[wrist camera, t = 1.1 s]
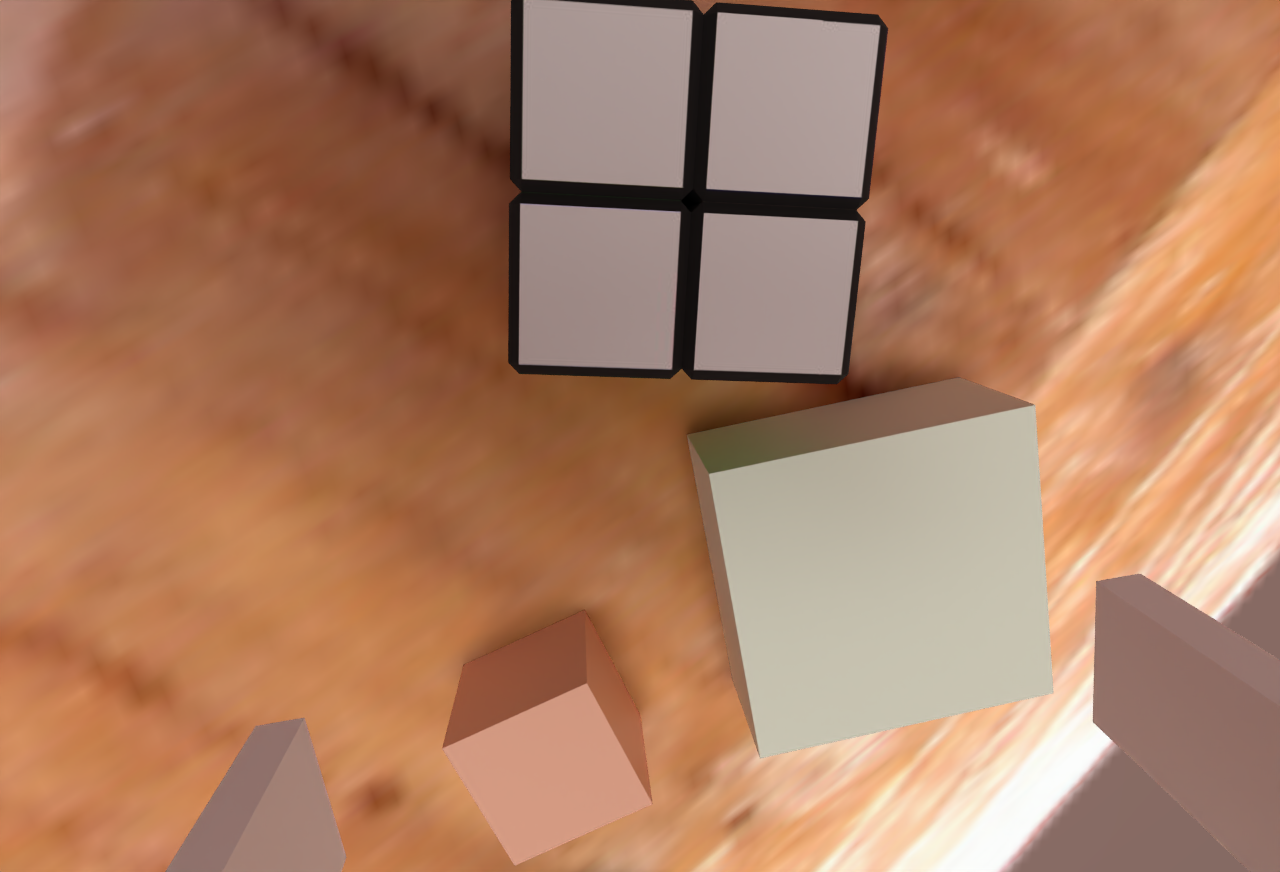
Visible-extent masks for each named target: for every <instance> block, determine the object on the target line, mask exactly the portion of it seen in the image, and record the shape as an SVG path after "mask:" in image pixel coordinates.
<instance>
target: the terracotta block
mask: <svg viewBox="0 0 1280 872" xmlns="http://www.w3.org/2000/svg"><path fill="white" fill-rule="evenodd" d="M442 749H443V751H444V752H445V754H446V756H447V757H448V759H449V761H450V762H451V764H452V765H453V767H454V769H455V770H456V772H457V773H458V775H459V777H460V778H461V780H462V781H463V783H464V785H465V786H466V788H467V790H468V791H469V793H470V794H471V796H472V798H473V799H474V801H475V802H476V804H477V806H478V807H479V809H480V810H481V812H482V814H483V815H484V817H485V819H486V820H487V822H488V823H489V825H490V827H491V828H492V830H493V831H494V833H495V835H496V836H497V838H498V840H499V841H500V843H501V844H502V846H503V848H504V849H505V851H506V852H507V854H508V856H509V857H510V859H511V860H512V862H513V864H514V865H517V864H519V863H522V862H524V861H526V860H528V859H531V858H533V857H535V856H537V855H540V854H542V853H544V852H546V851H549V850H551V849H553V848H555V847H558V846H560V845H562V844H564V843H567V842H569V841H571V840H573V839H576V838H578V837H580V836H582V835H585V834H587V833H589V832H591V831H593V830H596V829H598V828H600V827H602V826H605V825H607V824H609V823H611V822H614V821H616V820H618V819H620V818H623V817H625V816H627V815H629V814H632V813H634V812H636V811H638V810H641V809H643V808H645V807H647V806H650V805H652V796H651V789H650V782H649V775H648V767H647V760H646V753H645V746H644V739H643V731H642V724H641V717H640V714H639V712H638V710H637V708H636V706H635V704H634V702H633V700H632V698H631V696H630V695H629V693H628V691H627V689H626V687H625V685H624V683H623V681H622V679H621V677H620V676H619V674H618V672H617V670H616V668H615V666H614V664H613V662H612V660H611V658H610V657H609V655H608V653H607V651H606V649H605V647H604V645H603V643H602V641H601V639H600V638H599V636H598V634H597V632H596V630H595V628H594V626H593V624H592V622H591V620H590V619H589V617H588V615H587V613H586V611H585V610H583V611H581V612H579V613H577V614H574V615H572V616H570V617H568V618H566V619H563V620H561V621H559V622H557V623H555V624H552V625H550V626H548V627H546V628H544V629H541V630H539V631H537V632H535V633H533V634H530V635H528V636H526V637H524V638H522V639H519V640H517V641H515V642H513V643H511V644H508V645H506V646H504V647H502V648H500V649H497V650H495V651H493V652H491V653H489V654H486V655H484V656H482V657H480V658H478V659H475V660H473V661H471V662H469V663H467V664H464V666H463V670H462V674H461V677H460V681H459V685H458V689H457V693H456V697H455V701H454V705H453V709H452V712H451V716H450V720H449V724H448V728H447V732H446V736H445V740H444V743H443V747H442Z"/></svg>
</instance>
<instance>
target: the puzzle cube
mask: <svg viewBox="0 0 1280 872" xmlns="http://www.w3.org/2000/svg"><path fill="white" fill-rule="evenodd" d="M887 34H888V28H887V26H886V25H885V24H884V22H883V21H882V20H881V18H880V17H879V15H875V14H862V13H849V12H835V11H822V10H809V9H796V8H783V7H770V6H757V5H744V4H731V3H717V2H716V3H715V4H714V5H713V6H712V7H711V8H710V9H709V10H708V11H707V12H706V13H705V14H704V15H703V13H702V12H701V11H700V10H699V8H698V7H697V6H696V4H695V3H694V2H693V1H691V0H511V106H510V179H511V181H512V182H513V183H514V184H515V185H516V186H517V187H518V188H519V189H520V190H521V193H519V194H518V195H517V196H516V197H515V198H514V199H513V200H512V201H511V202H510V203H509V340H508V363H509V364H510V365H511V366H512V367H513V368H514V369H515V370H516V371H517V372H518V373H519V374H540V375H570V376H600V377H630V378H660V379H671V378H672V377H673V376H674V375H675V374H676V373H677V372H678V371H679V370H680V369H683V370H684V372H685V373H686V374H687V375H688V376H689V377H690V378H691V379H695V380H725V381H755V382H785V383H815V384H838V383H839V382H840V381H841V380H842V379H843V378H844V377H845V376H847V375H848V372H849V363H850V354H851V346H852V337H853V328H854V319H855V310H856V301H857V292H858V283H859V275H860V266H861V257H862V248H863V239H864V230H865V221H864V219H863V218H862V217H861V216H860V214H859V213H858V212H857V209H858V208H859V207H860V206H861V205H862V204H863V203H864V202H866V201H867V200H868V199H869V193H870V184H871V176H872V167H873V158H874V149H875V140H876V131H877V122H878V114H879V105H880V96H881V87H882V78H883V69H884V61H885V52H886V43H887Z"/></svg>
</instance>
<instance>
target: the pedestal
mask: <svg viewBox="0 0 1280 872" xmlns="http://www.w3.org/2000/svg"><path fill="white" fill-rule="evenodd" d="M687 438H688V444H689V449H690V455H691V460H692V465H693V471H694V476H695V481H696V487H697V492H698V498H699V503H700V508H701V514H702V519H703V525H704V530H705V535H706V541H707V546H708V551H709V557H710V562H711V568H712V573H713V578H714V584H715V589H716V595H717V600H718V605H719V611H720V616H721V621H722V627H723V632H724V638H725V643H726V648H727V654H728V659H729V664H730V670H731V675H732V680H733V683H734V686H735V688H736V691H737V694H738V697H739V700H740V703H741V705H742V708H743V711H744V714H745V717H746V720H747V722H748V725H749V728H750V731H751V734H752V736H753V739H754V742H755V745H756V748H757V751H758V753H759V756H760V758H764V757H769V756H773V755H778V754H782V753H787V752H791V751H796V750H800V749H805V748H809V747H814V746H818V745H823V744H827V743H832V742H836V741H841V740H845V739H850V738H854V737H859V736H863V735H868V734H872V733H877V732H881V731H886V730H890V729H895V728H899V727H904V726H908V725H913V724H917V723H922V722H926V721H931V720H935V719H940V718H944V717H949V716H953V715H958V714H962V713H967V712H971V711H976V710H980V709H984V708H989V707H993V706H998V705H1002V704H1007V703H1011V702H1016V701H1020V700H1025V699H1029V698H1034V697H1038V696H1043V695H1047V694H1052V693H1053V678H1052V662H1051V647H1050V631H1049V615H1048V599H1047V583H1046V568H1045V552H1044V536H1043V520H1042V504H1041V488H1040V473H1039V457H1038V441H1037V425H1036V409H1035V405H1034V404H1031V403H1028V402H1026V401H1023V400H1020V399H1018V398H1015V397H1012V396H1009V395H1007V394H1004V393H1001V392H998V391H996V390H993V389H990V388H987V387H985V386H982V385H979V384H977V383H974V382H971V381H968V380H966V379H963V378H960V377H958V378H953V379H948V380H943V381H939V382H934V383H929V384H924V385H920V386H915V387H910V388H905V389H901V390H896V391H891V392H886V393H882V394H877V395H872V396H867V397H863V398H858V399H853V400H848V401H844V402H839V403H834V404H829V405H825V406H820V407H815V408H810V409H806V410H801V411H796V412H791V413H787V414H782V415H777V416H772V417H768V418H763V419H758V420H753V421H749V422H744V423H739V424H734V425H730V426H725V427H720V428H715V429H711V430H706V431H701V432H696V433H692V434H687Z"/></svg>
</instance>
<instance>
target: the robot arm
mask: <svg viewBox="0 0 1280 872" xmlns="http://www.w3.org/2000/svg"><path fill="white" fill-rule="evenodd" d="M1093 723H1095V724H1096V725H1097V726H1098V727H1099V728H1100V729H1101V730H1102V731H1103V732H1104V733H1105V734H1106V735H1107V736H1108V737H1109V738H1110V739H1111V740H1112V741H1113V742H1114V743H1115V744H1117V745H1118V746H1119V747H1120V748H1121V749H1122V750H1123V751H1124V752H1125V753H1126V754H1127V755H1128V756H1129V757H1130V758H1131V759H1132V760H1133V761H1134V762H1136V764H1137V765H1138V766H1140V767H1141V768H1142V769H1143V770H1144V771H1145V772H1146V773H1147V774H1148V775H1149V776H1150V777H1151V778H1152V779H1153V780H1154V781H1155V782H1156V783H1157V784H1158V785H1159V786H1160V787H1162V788H1163V789H1164V790H1165V791H1166V792H1167V793H1168V794H1169V795H1170V796H1171V797H1172V798H1173V799H1174V800H1175V801H1176V802H1177V803H1178V804H1179V805H1180V806H1182V807H1183V808H1184V809H1185V810H1186V811H1187V812H1188V813H1189V814H1190V815H1191V816H1192V817H1193V818H1194V819H1195V820H1196V821H1197V822H1198V823H1199V824H1200V825H1201V826H1202V827H1204V828H1205V829H1206V830H1207V831H1208V832H1209V833H1210V834H1211V835H1212V836H1213V837H1214V838H1215V839H1216V840H1217V841H1218V842H1219V843H1220V844H1221V845H1222V846H1223V847H1224V848H1226V849H1227V850H1228V851H1229V852H1230V853H1231V854H1232V855H1233V856H1234V857H1235V858H1236V859H1237V860H1238V861H1239V862H1240V863H1241V864H1242V865H1243V866H1244V867H1245V868H1246V869H1247V870H1249V871H1250V872H1280V659H1278V658H1276V657H1275V656H1273V655H1271V654H1269V653H1268V652H1267V651H1265V650H1263V649H1262V648H1260V647H1258V646H1257V645H1255V644H1254V643H1252V642H1250V641H1249V640H1247V639H1245V638H1244V637H1242V636H1241V635H1239V634H1237V633H1236V632H1234V631H1232V630H1231V629H1229V628H1228V627H1226V626H1224V625H1223V624H1221V623H1219V622H1218V621H1216V620H1215V619H1213V618H1211V617H1210V616H1208V615H1207V614H1205V613H1203V612H1202V611H1200V610H1198V609H1197V608H1195V607H1194V606H1192V605H1190V604H1189V603H1187V602H1185V601H1184V600H1182V599H1181V598H1179V597H1177V596H1176V595H1174V594H1172V593H1171V592H1169V591H1168V590H1166V589H1164V588H1163V587H1161V586H1159V585H1158V584H1156V583H1155V582H1153V581H1151V580H1150V579H1148V578H1146V577H1145V576H1143V575H1142V574H1135V575H1130V576H1124V577H1118V578H1112V579H1106V580H1101V581H1096V615H1095V655H1094V694H1093ZM345 859H346V854H345V851H344V848H343V844H342V841H341V838H340V834H339V831H338V828H337V824H336V821H335V818H334V814H333V811H332V808H331V804H330V801H329V798H328V794H327V791H326V788H325V784H324V781H323V778H322V775H321V771H320V768H319V765H318V761H317V758H316V755H315V751H314V748H313V745H312V741H311V738H310V735H309V731H308V728H307V725H306V721H305V718H300V719H294V720H289V721H283V722H277V723H271V724H265V725H260V726H256V727H255V728H254V730H253V731H252V733H251V735H250V736H249V738H248V739H247V741H246V743H245V744H244V746H243V748H242V749H241V751H240V752H239V754H238V756H237V757H236V759H235V760H234V762H233V764H232V765H231V767H230V768H229V770H228V772H227V773H226V775H225V777H224V778H223V780H222V781H221V783H220V785H219V786H218V788H217V789H216V791H215V793H214V794H213V796H212V797H211V799H210V801H209V802H208V804H207V805H206V807H205V809H204V810H203V812H202V814H201V815H200V817H199V818H198V820H197V822H196V823H195V825H194V826H193V828H192V830H191V831H190V833H189V834H188V836H187V838H186V839H185V841H184V843H183V844H182V846H181V847H180V849H179V851H178V852H177V854H176V855H175V857H174V859H173V860H172V862H171V863H170V865H169V867H168V868H167V870H166V871H165V872H341V871H342V868H343V865H344V862H345Z"/></svg>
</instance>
